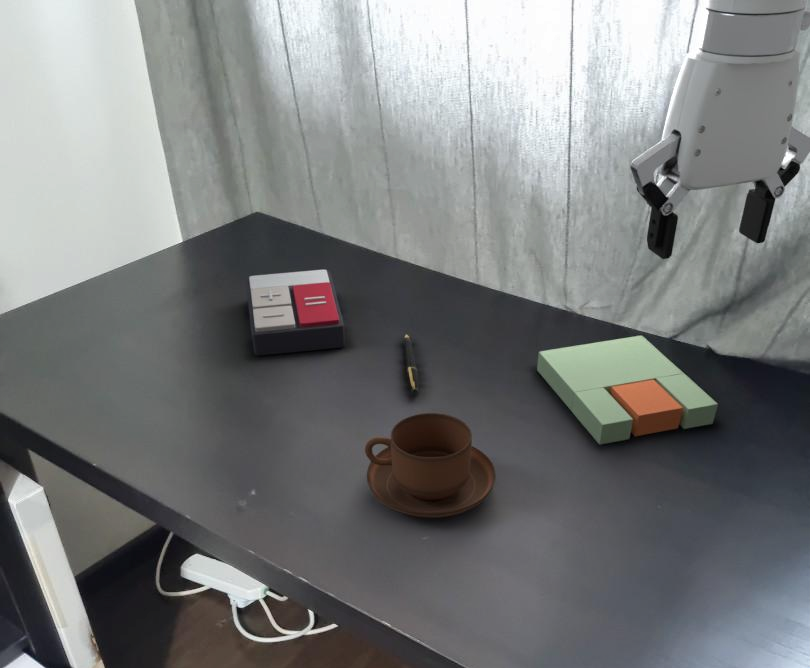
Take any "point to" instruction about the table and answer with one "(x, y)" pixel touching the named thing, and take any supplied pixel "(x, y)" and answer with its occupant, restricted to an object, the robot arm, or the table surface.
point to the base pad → (612, 366)
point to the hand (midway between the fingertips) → (705, 245)
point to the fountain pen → (411, 366)
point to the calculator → (294, 312)
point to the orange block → (648, 407)
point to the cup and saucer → (429, 467)
